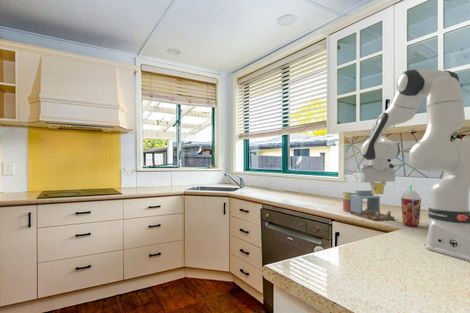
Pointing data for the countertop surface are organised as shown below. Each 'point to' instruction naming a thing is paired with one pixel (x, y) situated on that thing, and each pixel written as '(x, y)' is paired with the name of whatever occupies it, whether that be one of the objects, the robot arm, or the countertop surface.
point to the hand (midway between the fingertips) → (377, 190)
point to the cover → (372, 201)
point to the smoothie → (411, 208)
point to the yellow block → (378, 188)
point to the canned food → (347, 200)
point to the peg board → (374, 215)
